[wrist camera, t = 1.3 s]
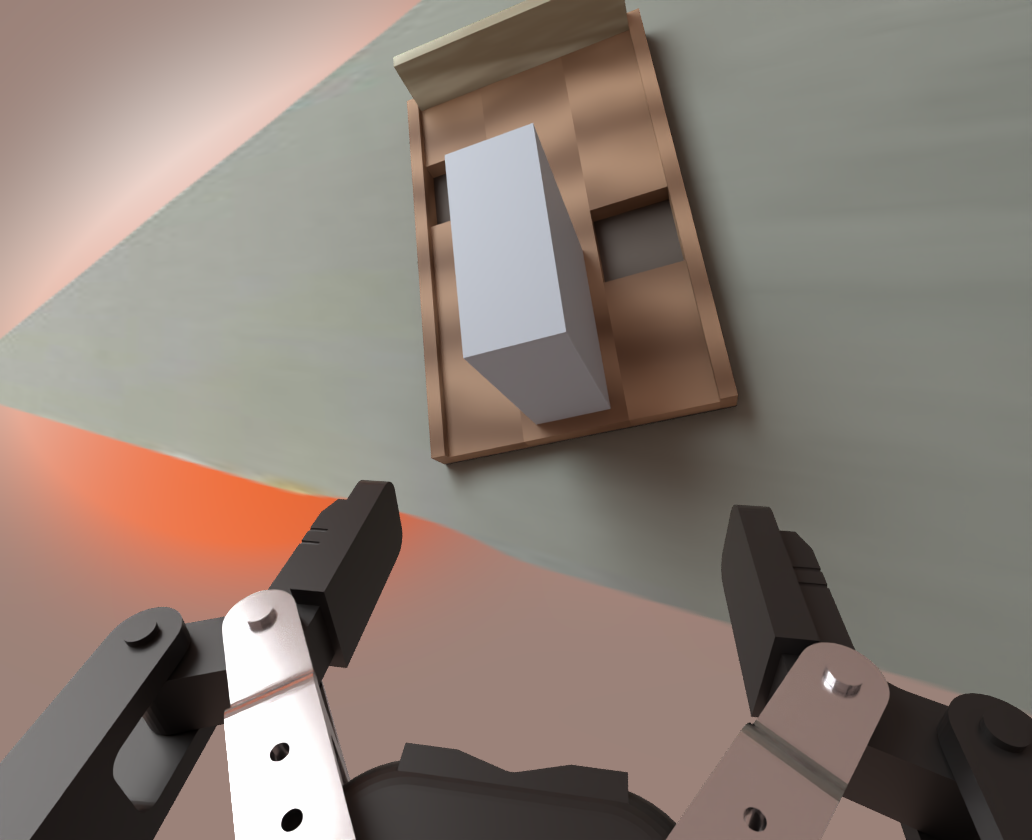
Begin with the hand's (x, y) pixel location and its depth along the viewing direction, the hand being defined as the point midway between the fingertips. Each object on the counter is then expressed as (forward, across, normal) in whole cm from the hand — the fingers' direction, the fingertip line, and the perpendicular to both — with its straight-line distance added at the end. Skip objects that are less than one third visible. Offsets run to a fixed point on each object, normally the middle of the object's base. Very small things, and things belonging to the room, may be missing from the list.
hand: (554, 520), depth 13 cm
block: (+26, +2, +6) cm, 26 cm away
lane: (+33, +4, +1) cm, 34 cm away
